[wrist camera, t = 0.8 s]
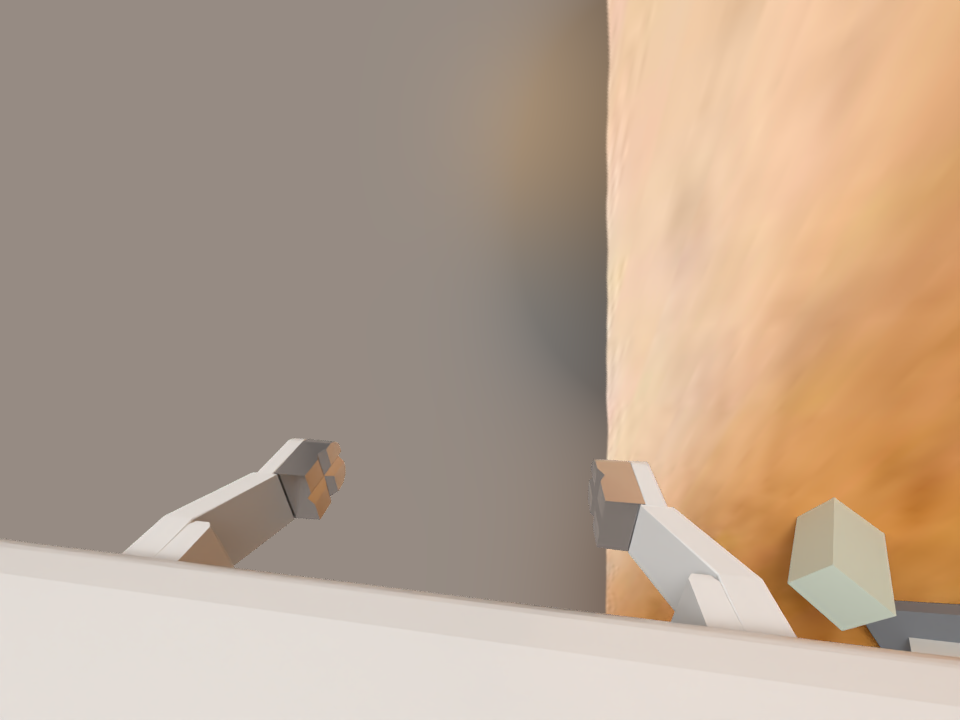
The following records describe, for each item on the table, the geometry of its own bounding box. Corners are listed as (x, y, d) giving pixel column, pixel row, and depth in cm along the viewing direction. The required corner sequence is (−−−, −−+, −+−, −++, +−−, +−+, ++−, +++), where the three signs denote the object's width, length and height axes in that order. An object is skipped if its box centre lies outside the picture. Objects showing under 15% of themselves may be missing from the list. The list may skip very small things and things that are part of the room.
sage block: (834, 497, 40) (832, 564, 32) (884, 533, 38) (896, 616, 30) (797, 517, 43) (787, 583, 35) (841, 551, 41) (842, 630, 33)
